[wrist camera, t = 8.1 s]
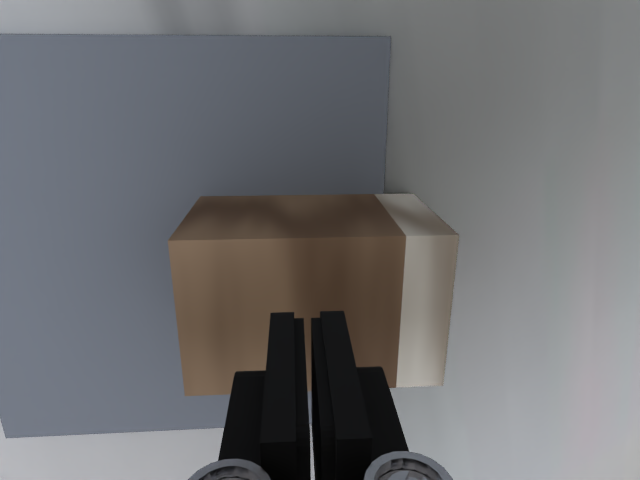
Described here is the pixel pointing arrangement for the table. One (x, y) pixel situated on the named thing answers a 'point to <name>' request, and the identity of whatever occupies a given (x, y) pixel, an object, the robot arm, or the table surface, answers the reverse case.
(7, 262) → the mat
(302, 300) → the walnut block
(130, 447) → the table surface
